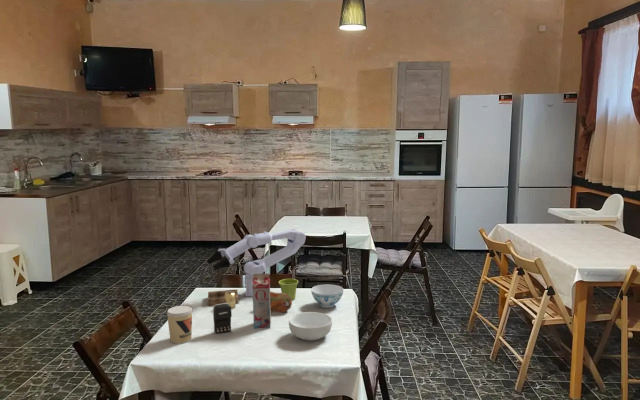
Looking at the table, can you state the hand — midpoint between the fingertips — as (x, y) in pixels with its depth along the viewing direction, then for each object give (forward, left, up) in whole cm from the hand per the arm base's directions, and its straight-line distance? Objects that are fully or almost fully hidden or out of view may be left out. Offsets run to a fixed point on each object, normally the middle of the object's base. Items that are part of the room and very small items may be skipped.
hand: (210, 265), depth 218 cm
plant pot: (-36, +6, -18) cm, 41 cm away
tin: (-28, +20, -18) cm, 39 cm away
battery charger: (-4, +39, -18) cm, 43 cm away
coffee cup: (+12, +42, -18) cm, 47 cm away
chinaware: (-52, +20, -18) cm, 59 cm away
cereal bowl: (-37, +52, -18) cm, 66 cm away
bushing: (-8, +11, -18) cm, 22 cm away
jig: (-5, 0, -18) cm, 19 cm away
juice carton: (-20, +36, -18) cm, 45 cm away
